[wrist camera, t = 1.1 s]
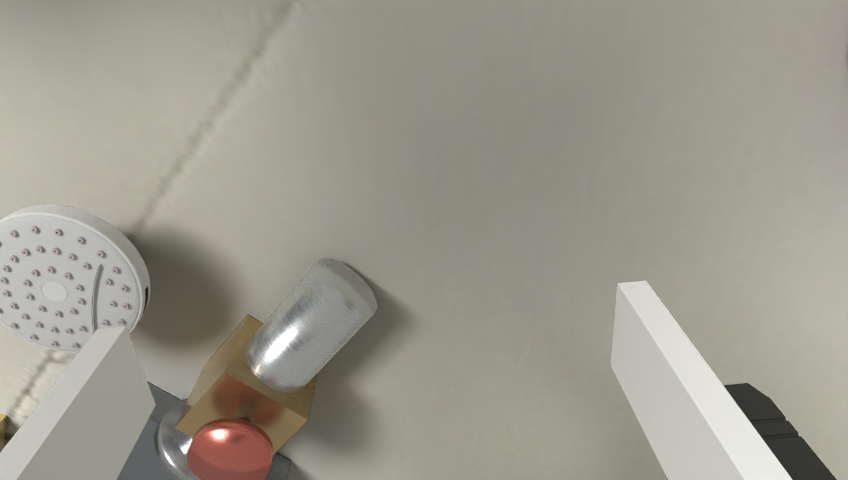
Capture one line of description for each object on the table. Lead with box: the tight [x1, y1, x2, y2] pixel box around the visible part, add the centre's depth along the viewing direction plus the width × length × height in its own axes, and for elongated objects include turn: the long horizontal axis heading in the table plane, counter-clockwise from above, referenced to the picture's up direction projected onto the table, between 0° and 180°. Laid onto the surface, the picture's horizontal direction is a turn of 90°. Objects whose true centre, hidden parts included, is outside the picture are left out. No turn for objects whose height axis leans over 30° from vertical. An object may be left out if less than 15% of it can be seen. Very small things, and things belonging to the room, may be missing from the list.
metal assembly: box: [116, 259, 377, 480], centre depth 42 cm, size 15×32×10 cm, turn 139°
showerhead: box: [0, 205, 151, 353], centre depth 36 cm, size 9×7×10 cm
